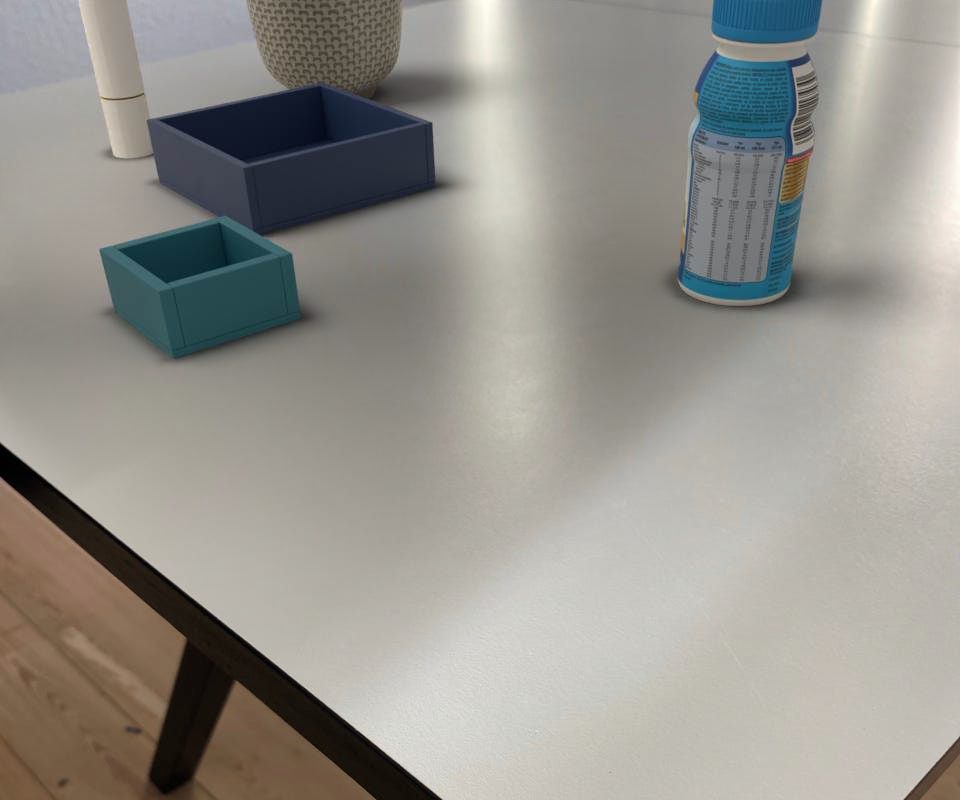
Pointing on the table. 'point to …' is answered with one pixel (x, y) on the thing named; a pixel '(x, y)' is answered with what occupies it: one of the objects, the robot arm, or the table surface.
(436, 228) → the table surface
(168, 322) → the teal bin
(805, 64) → the beverage bottle
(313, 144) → the navy bin
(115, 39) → the tube
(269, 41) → the planter
